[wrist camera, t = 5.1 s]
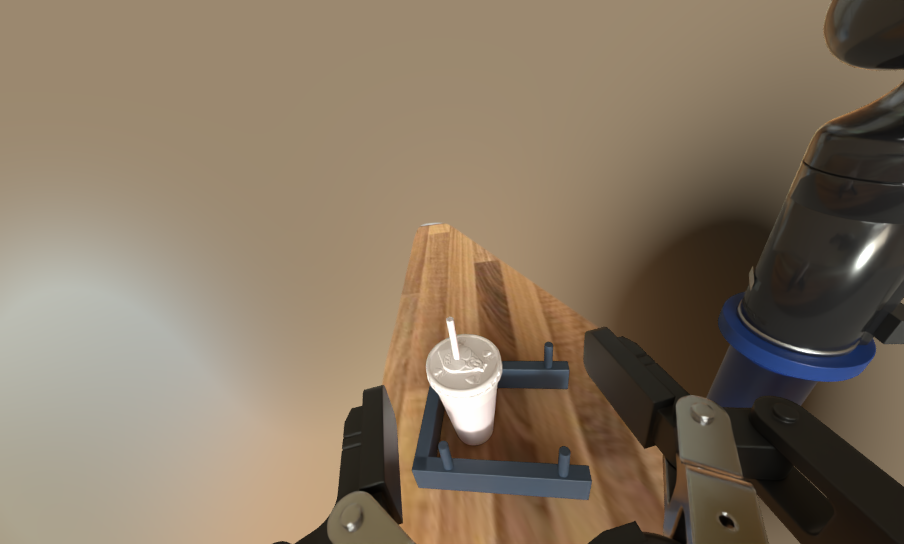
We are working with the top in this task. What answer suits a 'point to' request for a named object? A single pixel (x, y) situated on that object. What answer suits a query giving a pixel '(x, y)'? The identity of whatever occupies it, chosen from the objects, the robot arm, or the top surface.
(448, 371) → the smoothie
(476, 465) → the rack
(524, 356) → the top surface
